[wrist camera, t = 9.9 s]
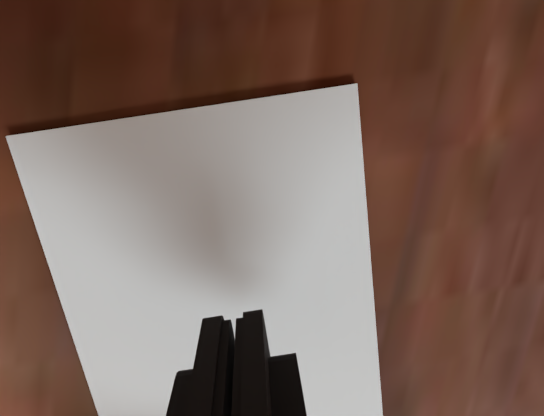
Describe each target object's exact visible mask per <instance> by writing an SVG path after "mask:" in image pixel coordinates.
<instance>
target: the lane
mask: <svg viewBox="0 0 544 416" xmlns="http://www.w3.org/2000/svg"><path fill="white" fill-rule="evenodd" d="M6 139H7V142H8V145H9V148H10V151H11V154H12V157H13V160H14V163H15V166H16V169H17V172H18V175H19V178H20V181H21V184H22V187H23V190H24V193H25V196H26V199H27V202H28V205H29V208H30V211H31V214H32V217H33V220H34V223H35V226H36V229H37V232H38V235H39V238H40V241H41V244H42V247H43V250H44V253H45V256H46V259H47V262H48V265H49V268H50V271H51V274H52V277H53V280H54V283H55V286H56V289H57V292H58V295H59V298H60V301H61V304H62V307H63V310H64V313H65V316H66V319H67V322H68V325H69V328H70V331H71V334H72V337H73V340H74V343H75V346H76V349H77V352H78V355H79V358H80V361H81V364H82V367H83V370H84V373H85V376H86V379H87V382H88V385H89V388H90V391H91V394H92V397H93V400H94V403H95V406H96V409H97V412H98V415H99V416H166V413H167V409H168V405H169V400H170V396H171V392H172V388H173V384H174V380H175V376H176V373H177V372H178V371H182V370H188V369H193V366H194V361H195V355H196V350H197V345H198V339H199V334H200V329H201V323H202V319H203V318H208V317H215V316H221V315H222V316H223V318H224V320H231V322H232V327H233V332H234V337H235V329H236V318H243V312H247V311H254V310H260V309H262V310H263V315H264V321H265V327H266V333H267V339H268V345H269V351H270V356H271V357H272V356H279V355H285V354H291V353H296V356H297V362H298V368H299V373H300V379H301V385H302V391H303V397H304V402H305V408H306V414H307V416H383V411H382V398H381V385H380V372H379V359H378V346H377V333H376V320H375V307H374V294H373V281H372V268H371V255H370V242H369V229H368V215H367V202H366V189H365V176H364V163H363V150H362V137H361V124H360V111H359V98H358V85H357V83H355V84H348V85H342V86H335V87H328V88H322V89H315V90H308V91H302V92H295V93H288V94H282V95H275V96H268V97H262V98H255V99H248V100H242V101H235V102H228V103H222V104H215V105H208V106H202V107H195V108H188V109H182V110H175V111H168V112H162V113H155V114H149V115H142V116H135V117H129V118H122V119H115V120H109V121H102V122H95V123H89V124H82V125H75V126H69V127H62V128H55V129H49V130H42V131H35V132H29V133H22V134H15V135H9V136H6Z"/></svg>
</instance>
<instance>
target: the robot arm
mask: <svg viewBox="0 0 544 416" xmlns="http://www.w3.org/2000/svg"><path fill="white" fill-rule="evenodd" d="M166 416H307V414H306V408H305V402H304V397H303V391H302V385H301V379H300V373H299V368H298V362H297V356H296V353H291V354H285V355H279V356H272V357H271V356H270V351H269V345H268V339H267V333H266V327H265V321H264V315H263V310H262V309H260V310H254V311H247V312H243V318H236V329H235V337H234V332H233V327H232V322H231V320H224V318H223V316H222V315H221V316H215V317H208V318H203V319H202V323H201V329H200V334H199V339H198V345H197V350H196V355H195V361H194V366H193V369H188V370H182V371H178V372H177V373H176V376H175V380H174V384H173V388H172V392H171V396H170V400H169V405H168V409H167V413H166Z"/></svg>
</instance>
